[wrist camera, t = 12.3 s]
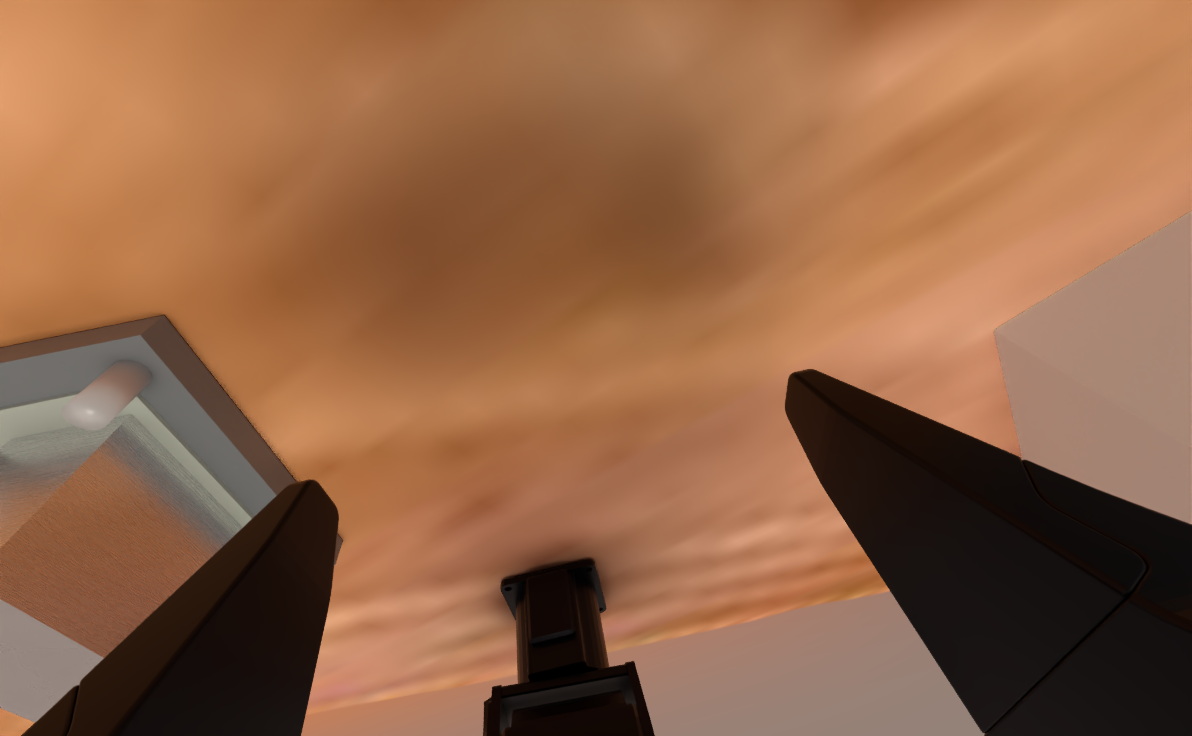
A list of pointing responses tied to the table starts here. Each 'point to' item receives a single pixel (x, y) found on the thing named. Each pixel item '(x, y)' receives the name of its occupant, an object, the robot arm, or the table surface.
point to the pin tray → (142, 405)
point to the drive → (90, 550)
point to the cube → (1112, 375)
